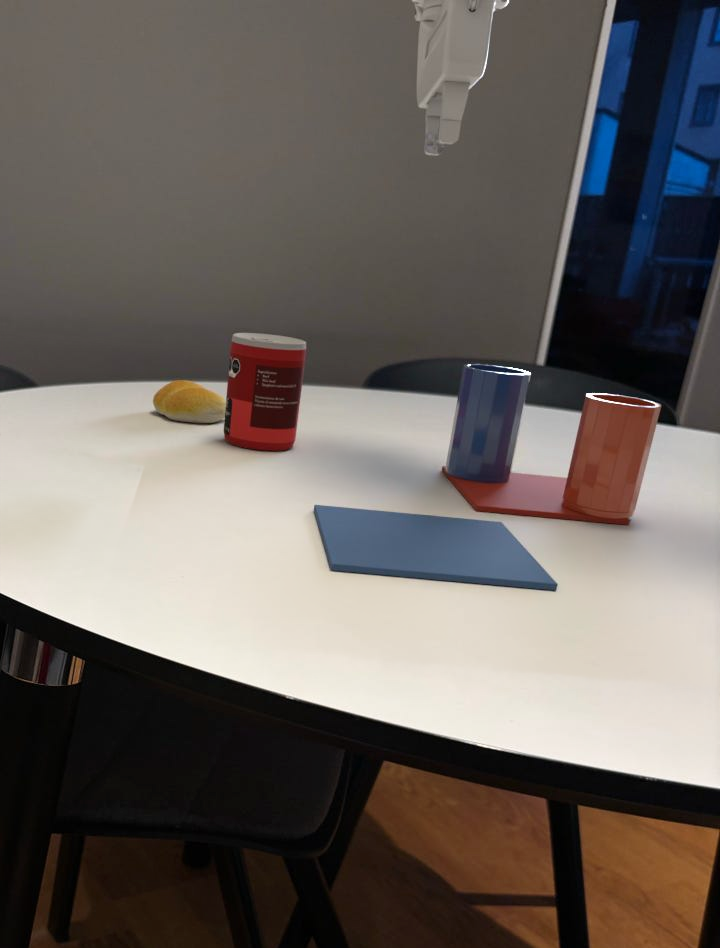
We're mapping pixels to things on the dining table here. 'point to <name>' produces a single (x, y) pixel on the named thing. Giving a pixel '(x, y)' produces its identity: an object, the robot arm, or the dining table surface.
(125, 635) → the dining table surface
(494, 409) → the blue cup
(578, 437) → the red cup
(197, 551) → the dining table surface
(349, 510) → the blue mat
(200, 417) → the bread roll
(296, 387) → the canned food
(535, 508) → the red mat
